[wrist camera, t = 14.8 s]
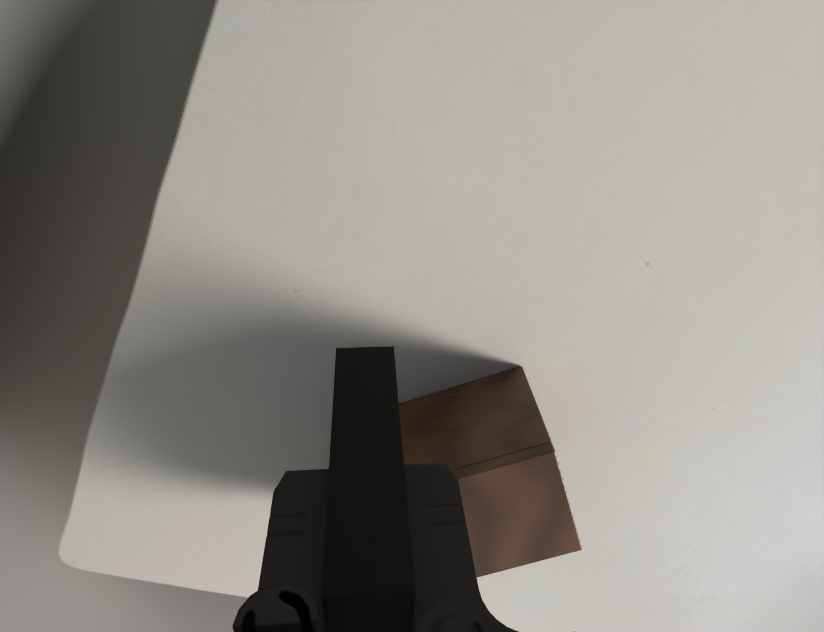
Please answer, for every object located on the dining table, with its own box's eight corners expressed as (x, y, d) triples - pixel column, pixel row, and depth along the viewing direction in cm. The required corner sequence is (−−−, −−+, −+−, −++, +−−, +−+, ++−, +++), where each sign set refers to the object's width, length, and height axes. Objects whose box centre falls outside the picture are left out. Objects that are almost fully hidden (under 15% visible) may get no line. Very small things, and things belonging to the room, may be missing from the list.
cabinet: (404, 502, 54) (412, 594, 46) (356, 416, 47) (355, 508, 39) (549, 461, 52) (582, 550, 44) (521, 365, 45) (555, 451, 37)
